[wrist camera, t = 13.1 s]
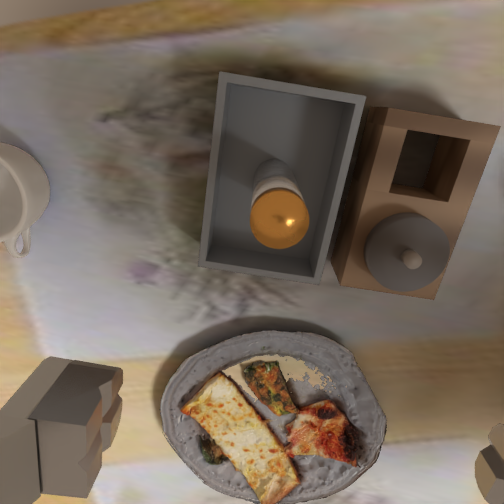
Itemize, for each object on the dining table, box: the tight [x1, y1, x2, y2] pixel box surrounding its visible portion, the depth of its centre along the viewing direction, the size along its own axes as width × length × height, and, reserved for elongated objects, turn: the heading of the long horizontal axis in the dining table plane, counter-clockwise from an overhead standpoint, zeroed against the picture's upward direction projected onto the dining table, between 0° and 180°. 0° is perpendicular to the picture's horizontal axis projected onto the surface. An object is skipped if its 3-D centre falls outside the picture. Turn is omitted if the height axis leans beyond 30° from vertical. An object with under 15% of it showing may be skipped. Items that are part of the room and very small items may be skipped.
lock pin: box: [250, 159, 309, 249], centre depth 27 cm, size 3×3×12 cm
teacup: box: [0, 142, 50, 258], centre depth 32 cm, size 10×8×5 cm
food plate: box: [160, 330, 387, 504], centre depth 42 cm, size 25×23×4 cm
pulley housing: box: [331, 107, 501, 300], centre depth 30 cm, size 14×8×8 cm, turn 171°
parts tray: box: [198, 71, 366, 285], centre depth 31 cm, size 15×10×4 cm
